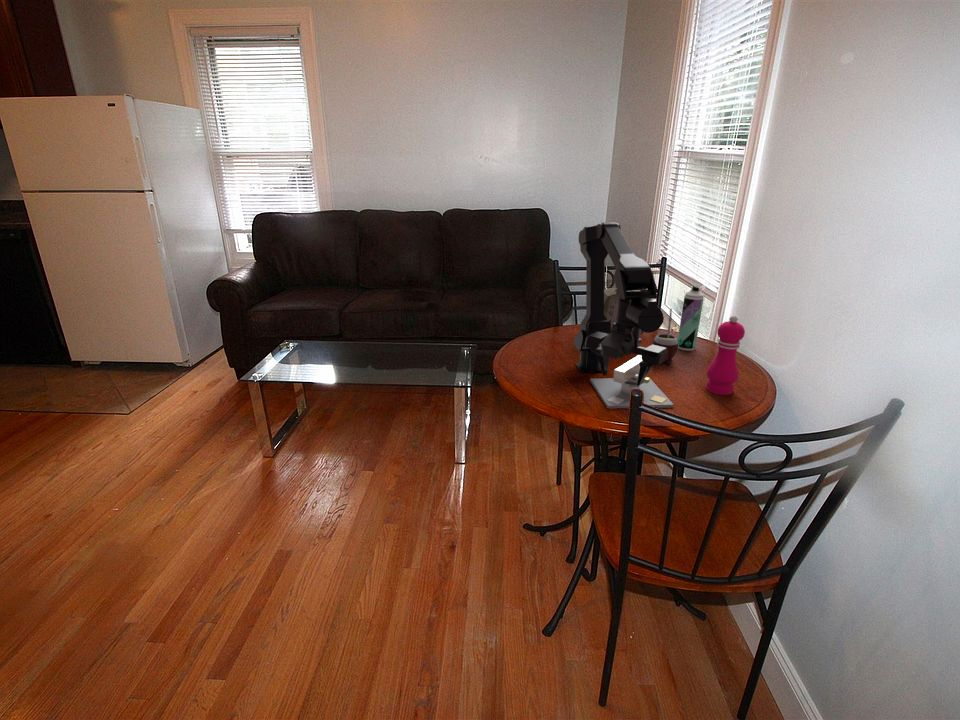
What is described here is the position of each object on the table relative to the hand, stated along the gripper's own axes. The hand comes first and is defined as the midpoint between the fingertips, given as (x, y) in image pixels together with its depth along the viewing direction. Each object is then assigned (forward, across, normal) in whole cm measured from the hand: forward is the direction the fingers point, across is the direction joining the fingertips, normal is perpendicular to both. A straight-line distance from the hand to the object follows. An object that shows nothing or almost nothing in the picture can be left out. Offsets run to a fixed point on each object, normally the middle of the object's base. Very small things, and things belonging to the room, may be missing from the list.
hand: (621, 380), depth 118 cm
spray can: (+6, -2, +49) cm, 49 cm away
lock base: (+6, 0, +6) cm, 8 cm away
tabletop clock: (+6, -20, +39) cm, 44 cm away
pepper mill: (+6, +16, +23) cm, 29 cm away
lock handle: (+1, +1, +6) cm, 6 cm away
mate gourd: (+6, -3, +32) cm, 33 cm away
